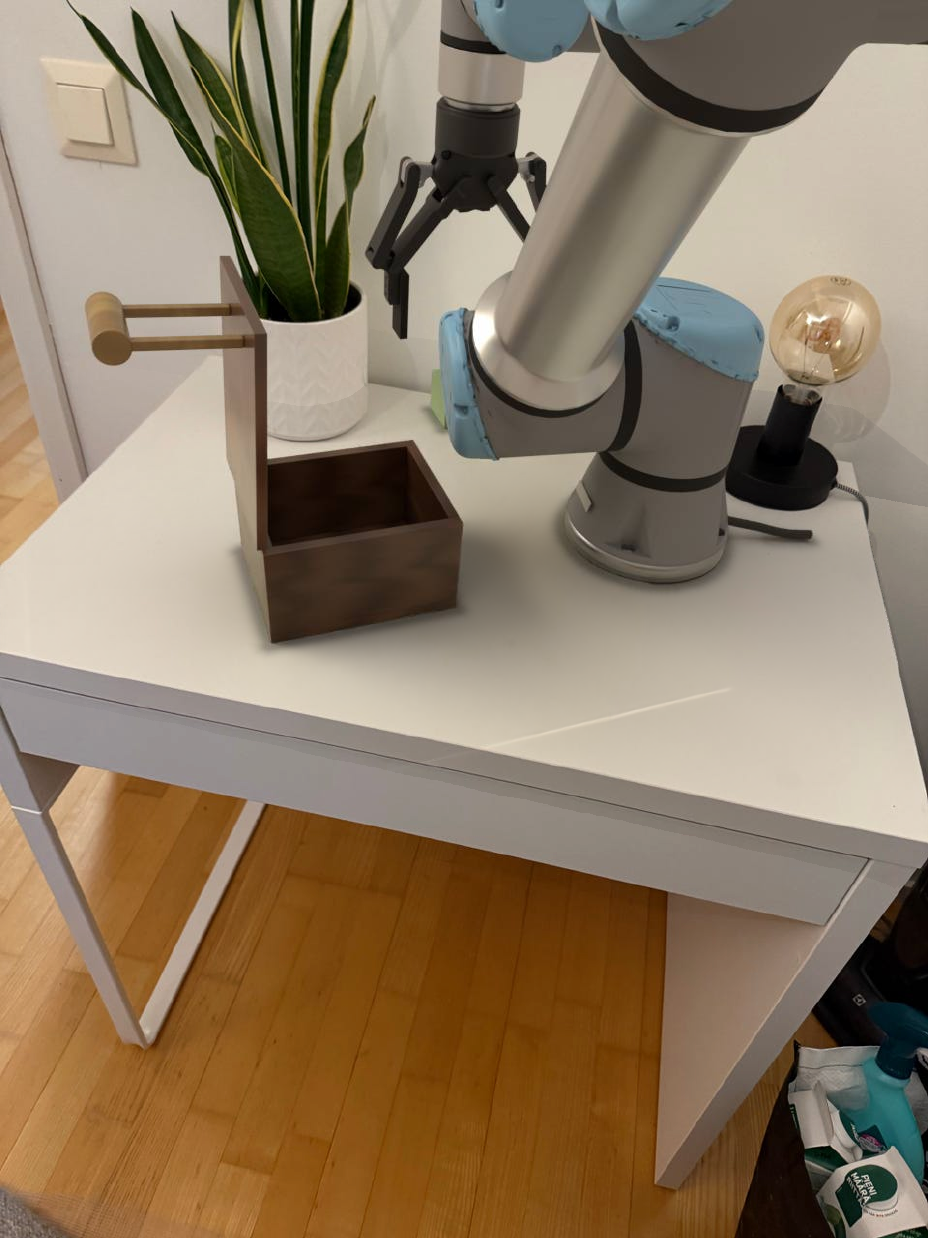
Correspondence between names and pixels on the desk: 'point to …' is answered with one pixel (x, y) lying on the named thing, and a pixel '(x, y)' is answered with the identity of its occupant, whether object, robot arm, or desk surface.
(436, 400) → the block
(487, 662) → the desk surface
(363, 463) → the chest
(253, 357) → the lid
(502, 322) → the robot arm
